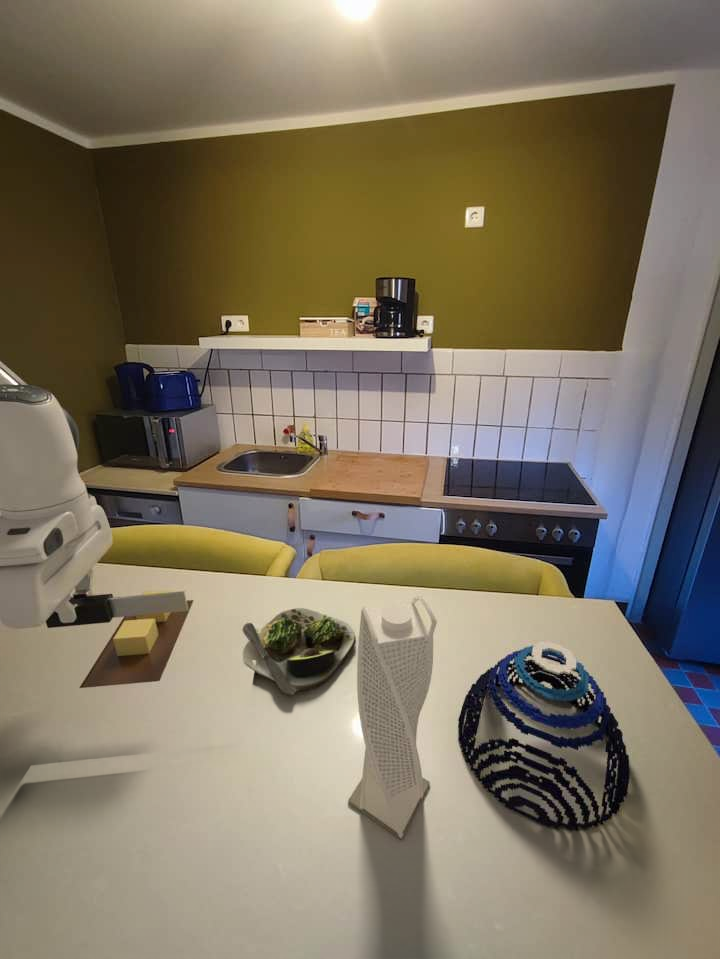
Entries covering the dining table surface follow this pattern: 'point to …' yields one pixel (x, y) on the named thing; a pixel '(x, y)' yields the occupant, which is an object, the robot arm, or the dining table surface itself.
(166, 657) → the cutting board
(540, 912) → the dining table surface
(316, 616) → the salad plate
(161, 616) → the butter slice
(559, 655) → the decorative bowl
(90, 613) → the knife
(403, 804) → the skyscraper
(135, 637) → the butter block
